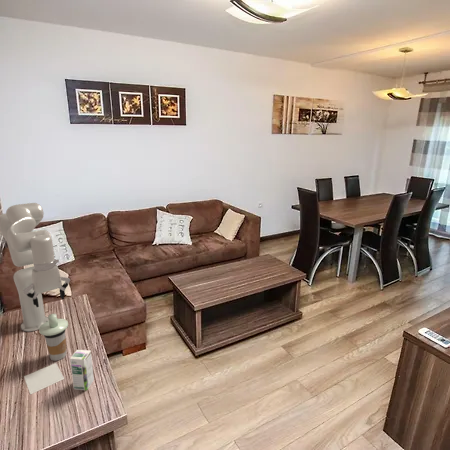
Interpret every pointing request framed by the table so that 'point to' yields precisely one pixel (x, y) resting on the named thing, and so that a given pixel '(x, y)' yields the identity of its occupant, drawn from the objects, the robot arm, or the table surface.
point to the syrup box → (82, 369)
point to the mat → (43, 378)
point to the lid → (53, 326)
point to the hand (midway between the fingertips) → (49, 301)
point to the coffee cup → (56, 346)
